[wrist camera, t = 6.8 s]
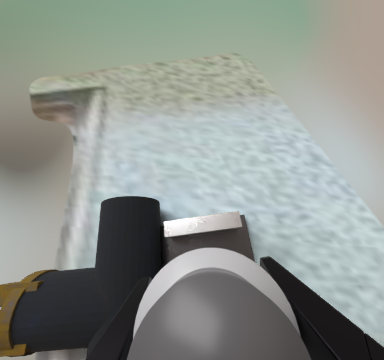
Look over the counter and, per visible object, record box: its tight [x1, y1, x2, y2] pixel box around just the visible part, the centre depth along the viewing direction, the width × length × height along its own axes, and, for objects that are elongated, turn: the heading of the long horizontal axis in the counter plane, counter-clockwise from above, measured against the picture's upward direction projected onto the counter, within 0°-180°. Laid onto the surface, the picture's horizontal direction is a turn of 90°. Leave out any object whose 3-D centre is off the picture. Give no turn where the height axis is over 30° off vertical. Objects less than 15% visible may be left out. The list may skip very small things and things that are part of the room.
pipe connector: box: [0, 196, 161, 357], centre depth 14 cm, size 12×5×15 cm
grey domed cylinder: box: [127, 248, 311, 360], centre depth 8 cm, size 5×5×11 cm
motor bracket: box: [160, 211, 255, 267], centre depth 13 cm, size 15×8×5 cm, turn 7°
